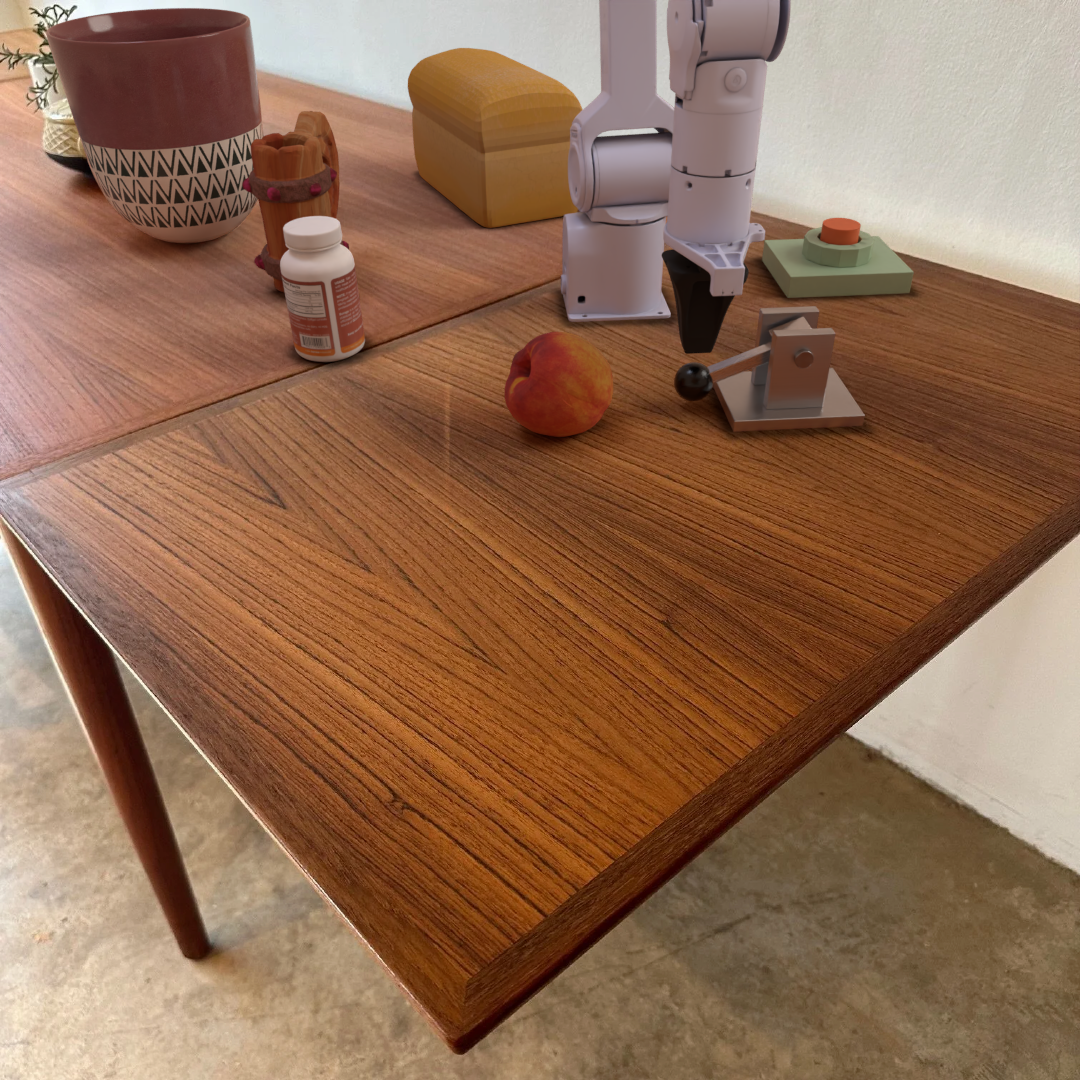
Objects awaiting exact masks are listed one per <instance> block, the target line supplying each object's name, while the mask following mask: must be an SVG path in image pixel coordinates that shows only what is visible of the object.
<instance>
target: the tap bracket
mask: <svg viewBox="0 0 1080 1080" xmlns="http://www.w3.org/2000/svg"><path fill="white" fill-rule="evenodd" d="M758 312H759V313H758V321H757V328H756V336H755V343H754V348H756V347H759V346H761V345H764V344H767V343H769V342H772V343H771V350H770V358H769V362H767V363H765V364H762V365H760V366H757V367H755V368H752V369H751V370H750V371H749V370H747V371H744V372H742V373H739V374H737V375H734V376H732V377H729V378H726V379H724V380H721V381H719V382H716V383H714V384H713V387H712V389H713V390H714V392H715V394H716V397H717V398H718V401H719V403H720V405H721V408H722V410H723V412H724V414H725V416H726V419H727V422H728V423H729V425H730V426H729V427H731V430H732V432H733V433H737V432H738V433H739V432H759V431H780V430H782V431H783V430H800V429H802V430H804V429H825V428H844V427H845V428H846V427H863V426H864V421H865V415H866V414H865V413H864V412H863V410H862V408H861V407H860V406H859V404H858V403H857V401H856V400H855V398H854V397H853V395H852V394H851V392H850V390H849V389H848V388H847V387H846V384H844V382H843V380H842V379H841V378H840V376H839V375H838V373H837V371H836V370H835V368H833V367H831V361H832V358H833V357H832V356H833V351H834V344H835V340H836V332H835V330H834V329H833V327H821V328H818V323H819V317H820V309H819V308H818V307H817V306H816V305H811V306H784V307H760V308H759V311H758ZM801 317H804V318H805V319H806V321H807V322H808V324H809V325H810V327H811V328H812V329H794V330H773V336H772V341H771V338H770V334H769V330H771V329H773V328H776V327H778V326H781V325H783V324H786V323H788V322H791V321H793V320H796V319H798V318H801Z"/></svg>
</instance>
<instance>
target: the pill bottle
mask: <svg viewBox="0 0 1080 1080" xmlns="http://www.w3.org/2000/svg"><path fill="white" fill-rule="evenodd" d="M283 232H284V239H285V243H286V247H287V248H289V250H288V251H286V252H285V253H284V255H283V256H282V258H281V261H280V268H281V275H282V280H283V286H284V291H285V293H284V296H285V302H286V308H287V312H288V313H287V314H288V319H289V325H290V330H291V335H292V341H293V346H294V349H295V352H296V353H297V354H298V355H299V356H300V357H301V358H303V359H304V360H308V361H312V362H319V363H331V362H332V363H333V362H337V361H342V360H345V359H348V358H350V357H352V356H355V355H356V354H358V353H359V352H360V351H361V350H362V349H363V348H364V346H365V342H366V336H365V327H364V321H363V314H362V307H361V306H362V305H361V300H360V293H359V292H360V291H359V285H358V278H357V271H356V264H355V259H354V258H355V257H354V256H353V253H352V252H351V250H350V249H349V250H348V249H347V248H346V247H345V246H343V245H341V244H340V243H341V241H343V231H342V225H341V222H340V220H338V219H335V218H332V217H326V216H310V217H303V218H298V219H295V220H292V221H290V222H288V223H287V224H285V225H284V227H283Z"/></svg>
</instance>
